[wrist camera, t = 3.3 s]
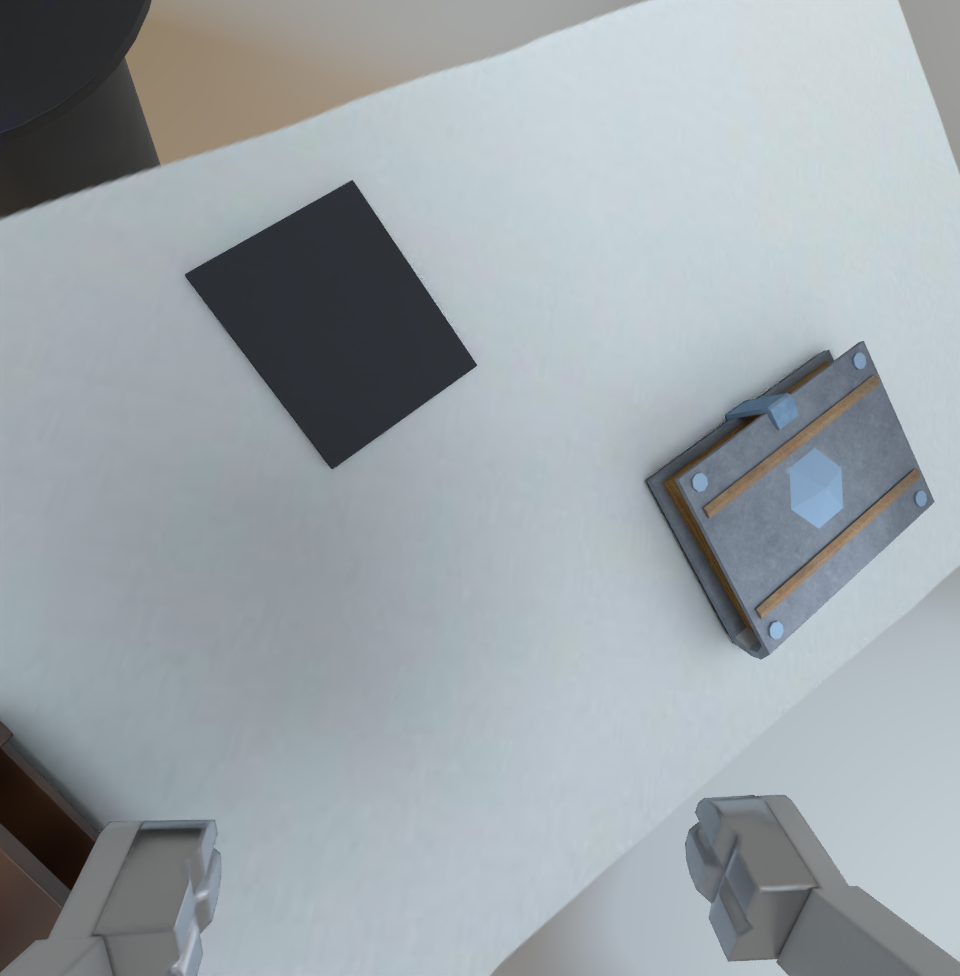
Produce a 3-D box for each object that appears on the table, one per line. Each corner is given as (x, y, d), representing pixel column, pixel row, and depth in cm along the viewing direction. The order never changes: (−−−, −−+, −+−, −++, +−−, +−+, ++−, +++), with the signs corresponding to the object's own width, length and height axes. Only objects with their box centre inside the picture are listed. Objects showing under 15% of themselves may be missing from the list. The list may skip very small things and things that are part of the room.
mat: (185, 276, 35) (184, 274, 35) (351, 182, 38) (352, 179, 38) (331, 469, 38) (332, 469, 37) (475, 366, 41) (477, 365, 41)
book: (733, 650, 48) (784, 667, 43) (640, 476, 45) (683, 474, 41) (890, 509, 54) (949, 511, 49) (816, 348, 51) (871, 333, 47)
